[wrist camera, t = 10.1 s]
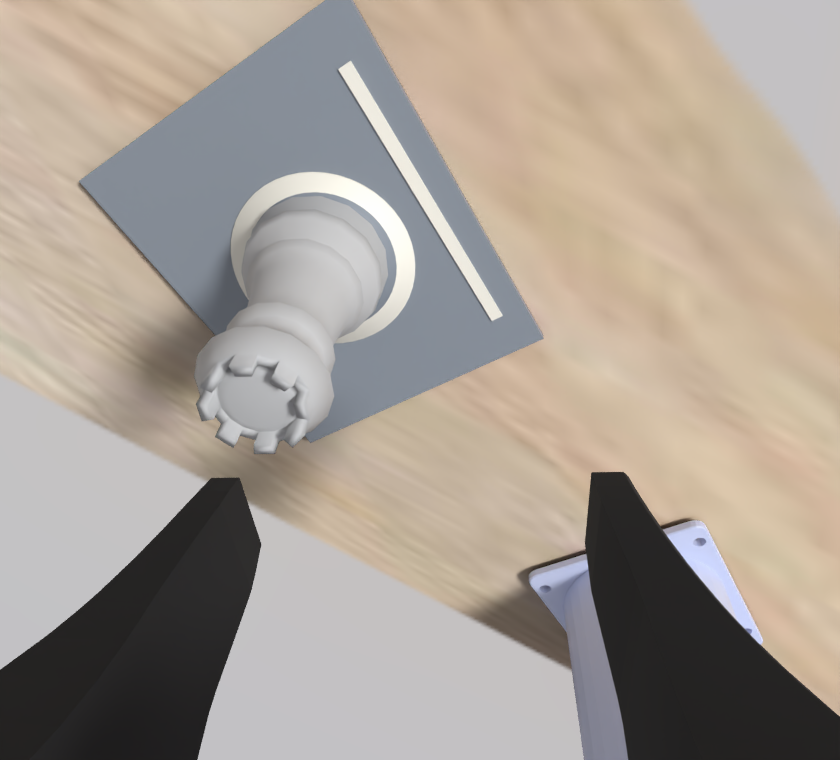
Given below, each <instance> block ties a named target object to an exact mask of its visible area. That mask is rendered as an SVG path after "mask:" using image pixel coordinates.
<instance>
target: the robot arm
mask: <svg viewBox="0 0 840 760" xmlns="http://www.w3.org/2000/svg"><path fill="white" fill-rule="evenodd" d="M697 538H699V539H697ZM585 547H586V554H584V555H580V556H577V557H574V558H571V559H568V560H565V561H561V562H558V563H555V564H552V565H549V566H545V567H542V568H539V569H536V570H534V571H532V572H531V573H530V574H529V583H530V585H531V587H532V588H533V589H534V590H535V592H536V593H537V594H538V596H539V597H540V598H541V600H542V601H543V602H544V604H545V605H546V606H547V607H548V609H549V610H550V611H551V613H552V614H553V615H554V617H555V618H556V619H557V620H558V622H559V623H560V624H561V626H562V627H563V628H564V630H565V631H566V632H567V637H568V645H569V652H570V659H571V667H572V674H573V682H574V689H575V696H576V703H577V711H578V719H579V726H580V733H581V741H582V747H583V755H584V760H840V716H838V715H837V714H836V713H835V712H834V711H832V710H831V709H830V708H829V707H828V706H827V705H826V704H825V703H823V702H822V701H821V700H820V699H819V698H818V697H817V696H815V695H814V694H813V693H812V692H811V691H810V690H809V689H808V688H806V687H805V686H804V685H803V684H802V683H801V682H800V681H798V680H797V679H796V678H795V677H794V676H793V675H792V674H791V673H789V672H788V671H787V670H786V669H785V668H784V667H783V666H782V665H781V664H780V663H779V662H778V661H777V660H776V659H774V658H773V657H772V656H771V655H770V654H769V653H768V652H767V651H766V650H765V649H764V648H763V647H762V646H761V644H762V642H763V639H762V636H761V634H760V632H759V630H758V628H757V626H756V624H755V622H754V620H753V618H752V616H751V614H750V612H749V610H748V608H747V606H746V604H745V602H744V600H743V598H742V596H741V594H740V592H739V590H738V588H737V586H736V584H735V582H734V580H733V578H732V576H731V574H730V572H729V570H728V568H727V566H726V565H725V563H724V561H723V559H722V557H721V555H720V553H719V551H718V549H717V547H716V545H715V543H714V541H713V539H712V537H711V535H710V533H709V531H708V529H707V527H706V525H705V524H704V523H703V522H701V521H698V520H693V521H688V522H685V523H682V524H679V525H676V526H672V527H669V528H666V529H663V530H662V528H661V527H660V525H659V524H658V522H657V521H656V519H655V518H654V517H653V515H652V514H651V512H650V511H649V509H648V508H647V506H646V505H645V503H644V501H643V500H642V498H641V497H640V495H639V494H638V492H637V490H636V489H635V487H634V485H633V484H632V482H631V480H630V479H629V477H628V476H627V475H626V474H625V473H624V472H592V473H591V484H590V494H589V505H588V516H587V527H586V538H585ZM260 548H261V542H260V539H259V536H258V533H257V530H256V527H255V524H254V521H253V518H252V515H251V512H250V509H249V506H248V502H247V499H246V496H245V493H244V490H243V487H242V484H241V481H240V478H211V479H210V480H209V481H208V482H207V483H206V484H205V485H204V486H203V487H202V488H201V489H200V491H199V492H198V493H197V494H196V495H195V496H194V497H193V498H192V499H191V500H190V501H189V502H188V503H187V504H186V505H185V506H184V507H183V509H182V510H181V511H180V512H179V513H178V514H177V515H176V516H175V517H174V518H173V519H172V520H171V521H170V522H169V524H168V525H167V526H166V527H165V528H164V529H163V530H162V531H161V532H160V533H159V534H158V535H157V536H156V537H155V538H154V539H153V540H152V541H151V542H150V543H149V544H148V545H147V546H146V547H145V548H144V549H143V550H142V551H141V552H140V553H139V554H138V555H137V556H136V557H135V558H134V559H133V560H132V561H131V562H130V563H129V564H128V565H127V566H126V567H125V568H124V569H123V570H122V571H121V572H120V573H119V574H118V575H116V576H115V578H113V580H111V581H110V582H109V583H108V584H107V585H106V586H105V587H104V588H103V589H102V590H101V591H100V592H99V593H98V594H96V595H95V596H94V597H93V598H92V599H91V600H90V601H88V602H87V603H86V604H85V605H84V606H83V607H81V608H80V609H79V610H78V611H77V612H76V613H74V614H73V615H72V616H71V617H69V618H68V619H67V620H66V621H65V622H63V623H62V624H61V625H60V626H58V627H57V628H56V629H55V630H53V631H52V632H51V633H50V634H48V635H47V636H46V637H44V638H43V639H42V640H40V641H39V642H38V643H36V644H35V645H34V646H32V647H31V648H30V649H28V650H27V651H25V652H24V653H23V654H21V655H20V656H18V657H17V658H16V659H14V660H13V661H12V662H10V663H9V664H8V665H6V666H5V667H3V668H2V669H1V670H0V760H197V759H198V755H199V750H200V746H201V742H202V738H203V734H204V730H205V726H206V722H207V718H208V715H209V711H210V708H211V705H212V702H213V698H214V695H215V692H216V689H217V686H218V683H219V681H220V678H221V675H222V672H223V669H224V666H225V664H226V661H227V658H228V655H229V653H230V650H231V647H232V644H233V641H234V639H235V635H236V633H237V630H238V627H239V624H240V621H241V619H242V616H243V613H244V610H245V607H246V605H247V601H248V599H249V596H250V593H251V590H252V585H253V581H254V576H255V572H256V568H257V563H258V558H259V553H260Z"/></svg>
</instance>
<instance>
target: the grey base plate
mask: <svg viewBox="0 0 840 760" xmlns="http://www.w3.org/2000/svg"><path fill="white" fill-rule="evenodd" d="M79 182H80V183H81V184H82V185H83V187H84V188H85V189H86V190H87V191H88V192H89V193H90V194H91V196H92V197H93V198H94V199H95V200H96V201H97V202H98V203H99V205H100V206H101V207H102V208H103V209H104V210H105V211H106V212H107V214H108V215H109V216H110V217H111V218H112V219H113V220H114V222H115V223H116V224H117V225H118V226H119V227H120V228H121V229H122V231H123V232H124V233H125V234H126V235H127V236H128V237H129V238H130V240H131V241H132V242H133V243H134V244H135V245H136V246H137V247H138V249H139V250H140V251H141V252H142V253H143V254H144V255H145V256H146V258H147V259H148V260H149V261H150V262H151V263H152V264H153V266H154V267H155V268H156V269H157V270H158V271H159V272H160V273H161V275H162V276H163V277H164V278H165V279H166V280H167V281H168V282H169V284H170V285H171V286H172V287H173V288H174V289H175V290H176V291H177V293H178V294H179V295H180V296H181V297H182V298H183V299H184V300H185V302H186V303H187V304H188V305H189V306H190V307H191V308H192V310H193V311H194V312H195V313H196V314H197V315H198V316H199V317H200V319H201V320H202V321H203V322H204V323H205V324H206V325H207V326H208V328H209V329H210V330H211V331H212V332H213V333H214V334H215V335H218V334H220V333H223V332H225V331H226V329H227V325H228V324H229V323H230V321H231V320H232V319H233V318H234V317H235V315H236V314H237V313H238V312H239V311H241V310H243V309H245V308H247V306H248V302H249V298H248V297H247V293H246V289H245V285H244V281H243V277H242V262H243V257H244V252H245V247H246V242H247V241H248V239H249V238H250V237H251V233H252V229H253V228H254V227H255V225H256V224H257V223H258V221H259V220H260V219H261V218H262V216H263V215H264V214H265V212H266V211H267V210H268V209H269V208H271V207H273V206H276V205H278V204H280V203H282V202H284V201H286V200H288V199H290V198H292V197H311V196H322V197H325V198H328V199H331V200H334V201H336V202H339V203H342V204H345V205H348V206H350V207H351V208H352V209H354V210H355V211H356V212H357V213H358V214H359V215H361V216H362V217H363V218H364V219H365V220H367V221H368V222H369V223H370V224H371V225H372V226H373V228H374V229H375V231H376V233H377V235H378V237H379V239H380V240H381V242H382V244H383V246H384V248H385V249H386V259H387V269H388V277H387V280H386V283H385V286H384V289H383V291H382V294H381V297H380V299H379V300H378V303H377V306H376V309H375V311H374V312H373V313H372V314H371V315H370V316H369V317H368V318H367V319H366V320H365V321H364V322H363V323H362V324H361V325H360V326H359V327H358V328H357V329H356V330H355V331H354V332H351V333H349V334H346V335H344V336H342V337H340V338H338V339H337V340H336V342H335V344H334V345H333V348H334V354H335V362H334V366H333V369H332V372H331V381H332V387H333V392H334V398H333V401H332V404H331V407H330V410H329V414H328V416H327V417H326V418H325V419H324V420H323V421H322V422H321V423H320V424H319V425H318V426H317V427H316V428H315V429H314V430H313V431H311V432H308V433H306V434H305V437H306V438H307V439H308V440H309V442H310V443H311V442H313V441H316V440H318V439H320V438H322V437H324V436H327V435H329V434H331V433H333V432H336V431H338V430H340V429H342V428H345V427H347V426H349V425H351V424H354V423H356V422H358V421H360V420H363V419H365V418H367V417H369V416H371V415H374V414H376V413H378V412H380V411H383V410H385V409H387V408H389V407H392V406H394V405H396V404H398V403H401V402H403V401H405V400H407V399H409V398H412V397H414V396H416V395H418V394H421V393H423V392H425V391H427V390H430V389H432V388H434V387H436V386H439V385H441V384H443V383H445V382H448V381H450V380H452V379H454V378H456V377H459V376H461V375H463V374H465V373H468V372H470V371H472V370H474V369H477V368H479V367H481V366H483V365H486V364H488V363H490V362H492V361H494V360H497V359H499V358H501V357H503V356H506V355H508V354H510V353H512V352H515V351H517V350H519V349H521V348H524V347H526V346H528V345H530V344H533V343H535V342H537V341H539V340H541V339H543V334H542V332H541V330H540V328H539V327H538V325H537V323H536V321H535V320H534V318H533V316H532V314H531V313H530V311H529V309H528V307H527V306H526V304H525V302H524V300H523V299H522V297H521V295H520V293H519V292H518V290H517V288H516V286H515V285H514V283H513V281H512V279H511V277H510V276H509V274H508V272H507V270H506V269H505V267H504V265H503V263H502V262H501V260H500V258H499V256H498V255H497V253H496V251H495V249H494V248H493V246H492V244H491V242H490V241H489V239H488V237H487V235H486V234H485V232H484V230H483V228H482V226H481V225H480V223H479V221H478V219H477V218H476V216H475V214H474V212H473V211H472V209H471V207H470V205H469V204H468V202H467V200H466V198H465V197H464V195H463V193H462V191H461V190H460V188H459V186H458V184H457V183H456V181H455V179H454V177H453V175H452V174H451V172H450V170H449V168H448V167H447V165H446V163H445V161H444V160H443V158H442V156H441V154H440V153H439V151H438V149H437V147H436V146H435V144H434V142H433V140H432V139H431V137H430V135H429V133H428V132H427V130H426V128H425V126H424V124H423V123H422V121H421V119H420V117H419V116H418V114H417V112H416V110H415V109H414V107H413V105H412V103H411V102H410V100H409V98H408V96H407V95H406V93H405V91H404V89H403V88H402V86H401V84H400V82H399V81H398V79H397V77H396V75H395V73H394V72H393V70H392V68H391V66H390V65H389V63H388V61H387V59H386V58H385V56H384V54H383V52H382V51H381V49H380V47H379V45H378V44H377V42H376V40H375V38H374V37H373V35H372V33H371V31H370V30H369V28H368V26H367V24H366V22H365V21H364V19H363V17H362V15H361V14H360V12H359V10H358V8H357V7H356V5H355V3H354V1H353V0H325V1H324V2H322V3H321V4H320V5H318V6H317V7H316V8H314V9H313V10H311V11H310V12H309V13H307V14H306V15H305V16H303V17H302V18H301V19H299V20H298V21H296V22H295V23H294V24H292V25H291V26H290V27H288V28H287V29H286V30H284V31H283V32H281V33H280V34H279V35H277V36H276V37H275V38H273V39H272V40H271V41H269V42H268V43H267V44H265V45H264V46H262V47H261V48H260V49H258V50H257V51H256V52H254V53H253V54H252V55H250V56H249V57H247V58H246V59H245V60H243V61H242V62H241V63H239V64H238V65H237V66H235V67H234V68H232V69H231V70H230V71H228V72H227V73H226V74H224V75H223V76H222V77H220V78H219V79H217V80H216V81H215V82H213V83H212V84H211V85H209V86H208V87H207V88H205V89H204V90H202V91H201V92H200V93H198V94H197V95H196V96H194V97H193V98H192V99H190V100H189V101H188V102H186V103H185V104H183V105H182V106H181V107H179V108H178V109H177V110H175V111H174V112H173V113H171V114H170V115H168V116H167V117H166V118H164V119H163V120H162V121H160V122H159V123H158V124H156V125H155V126H153V127H152V128H151V129H149V130H148V131H147V132H145V133H144V134H143V135H141V136H140V137H138V138H137V139H136V140H134V141H133V142H132V143H130V144H129V145H128V146H126V147H125V148H123V149H122V150H121V151H119V152H118V153H117V154H115V155H114V156H113V157H111V158H110V159H109V160H107V161H106V162H104V163H103V164H102V165H100V166H99V167H98V168H96V169H95V170H94V171H92V172H91V173H89V174H88V175H87V176H85V177H84V178H83V179H81V180H80V181H79Z"/></svg>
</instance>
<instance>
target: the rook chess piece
mask: <svg viewBox="0 0 840 760" xmlns="http://www.w3.org/2000/svg"><path fill="white" fill-rule="evenodd" d="M242 277H243V281H244V285H245V289H246V293H247V297H248V298H249V302H248V306H247V308H245V309H243V310H241V311H239V312H238V313H237V314H236V315H235V317H234V318H233V319H232V320H231V321H230V323H229V324H228V325H227V329H226V331H225V332H223V333H220V334H218V335H216V336H214V337H212V338H211V339H210V340H209V341H208V343H207V344H206V345H205V346H204V347H203V349H202V350H201V351H200V352H199V354H198V355H197V361H196V368H195V374H194V377H195V381H196V384H197V387H198V390H199V393H200V398H199V400H198V401H197V403H196V405H197V408H198V411H199V414H200V417H201V420H202V421H206V420H212V419H214V417H216V418H217V420H218V421H219V422H220V423H221V425H220V427H219V429H218V431H217V434H216V436H215V437H216V438H218V439H220V440H221V441H223V442H224V443H226V444H228V445H229V446H231V447H232V448H234V446H235V444H236V442H237V440H238V438H239V436H243V437H247V438H250V439H254V440H256V441H255V443H254V454H275V452H276V449H277V446H278V444H279V441H282V440H285V441H286V442H287V443H288V444H289V445H290V446H291V447H292V448H293V447H294V446H295V445H296V444H297V443H298V442H299V441H300V440H301V439H302V438H303V437H304V436H305V434H306V433H308V432H311V431H313V430H314V429H315V428H316V427H317V426H318V425H319V424H320V423H321V422H322V421H323V420H324V419H325V418H326V417H327V416H328V414H329V410H330V407H331V404H332V401H333V398H334V392H333V387H332V381H331V372H332V369H333V366H334V362H335V354H334V348H333V345H334V344H335V342H336V340H337V339H338V338H340V337H342V336H344V335H346V334H349V333H351V332H354V331H355V330H356V329H357V328H358V327H359V326H360V325H361V324H362V323H363V322H364V321H365V320H366V319H367V318H368V317H369V316H370V315H371V314H372V313H373V312H374V311H375V309H376V306H377V303H378V300H379V299H380V297H381V294H382V291H383V289H384V286H385V283H386V280H387V277H388V269H387V259H386V249H385V248H384V246H383V244H382V242H381V240H380V239H379V237H378V235H377V233H376V231H375V229H374V228H373V226H372V225H371V224H370V223H369V222H368V221H367V220H365V219H364V218H363V217H362V216H361V215H359V214H358V213H357V212H356V211H355V210H354V209H352V208H351V207H350V206H348V205H345V204H342V203H339V202H336V201H334V200H331V199H328V198H325V197H322V196H311V197H292V198H290V199H288V200H286V201H284V202H282V203H280V204H278V205H276V206H273V207H271V208H269V209H268V210H267V211H266V212H265V214H264V215H263V216H262V218H261V219H260V220H259V221H258V223H257V224H256V225H255V227H254V228H253V229H252V233H251V237H250V238H249V239H248V241H247V242H246V247H245V252H244V257H243V262H242Z"/></svg>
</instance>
